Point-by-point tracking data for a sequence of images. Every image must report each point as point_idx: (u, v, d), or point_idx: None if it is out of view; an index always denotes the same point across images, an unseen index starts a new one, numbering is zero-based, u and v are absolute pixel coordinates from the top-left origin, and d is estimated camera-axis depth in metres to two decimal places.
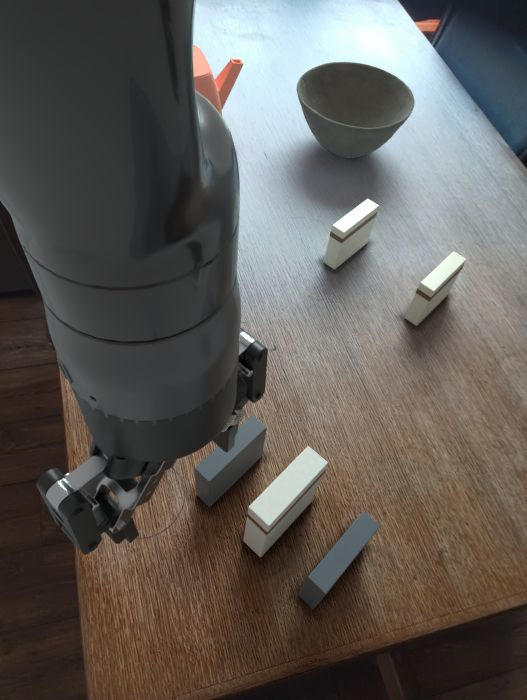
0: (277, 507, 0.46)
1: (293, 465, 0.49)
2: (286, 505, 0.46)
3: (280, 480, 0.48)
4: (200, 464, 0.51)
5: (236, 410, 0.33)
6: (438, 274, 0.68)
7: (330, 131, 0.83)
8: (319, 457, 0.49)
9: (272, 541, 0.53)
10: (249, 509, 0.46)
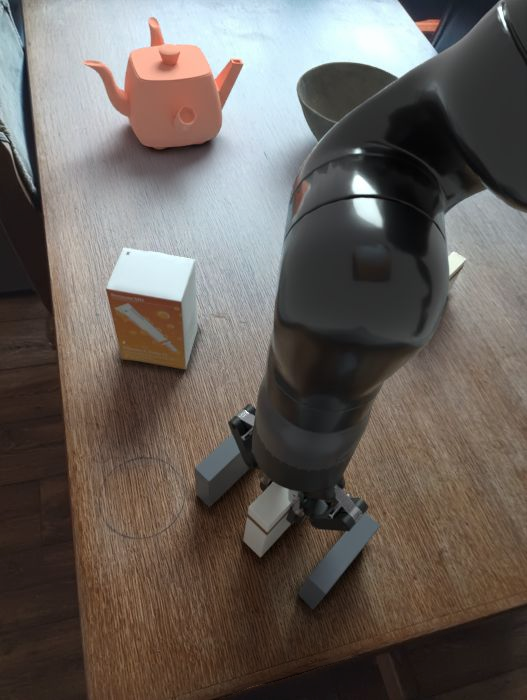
0: (277, 507, 0.46)
1: None
2: (286, 505, 0.46)
3: None
4: (200, 464, 0.51)
5: None
6: None
7: None
8: None
9: (272, 541, 0.53)
10: (249, 509, 0.46)
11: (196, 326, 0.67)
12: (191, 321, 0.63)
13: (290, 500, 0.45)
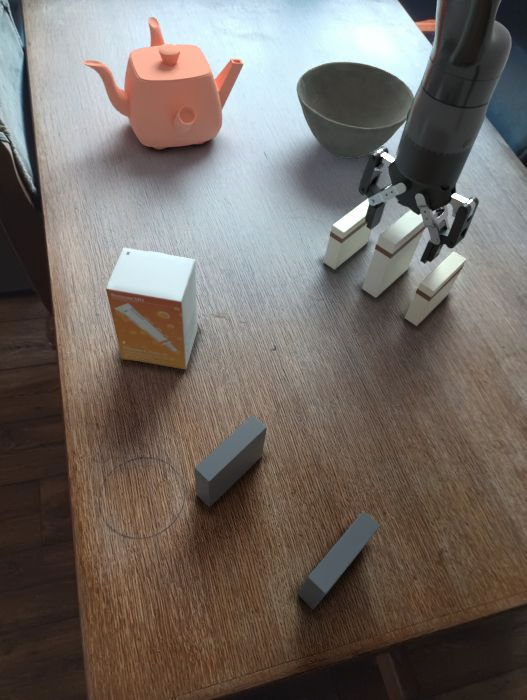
0: (399, 235, 0.67)
1: (406, 215, 0.69)
2: (405, 234, 0.67)
3: (399, 222, 0.69)
4: (200, 464, 0.51)
5: (387, 186, 0.68)
6: (438, 274, 0.68)
7: (330, 131, 0.83)
8: None
9: (385, 283, 0.73)
10: (380, 237, 0.67)
11: (196, 326, 0.67)
12: (191, 321, 0.63)
13: (425, 223, 0.64)
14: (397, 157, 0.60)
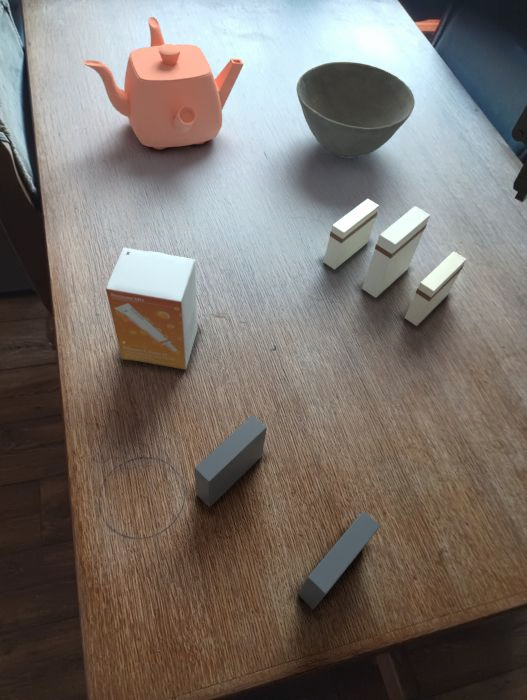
0: (399, 235, 0.67)
1: (406, 215, 0.69)
2: (405, 234, 0.67)
3: (399, 222, 0.69)
4: (200, 464, 0.51)
5: None
6: (438, 274, 0.68)
7: (330, 131, 0.83)
8: (423, 211, 0.70)
9: (385, 283, 0.73)
10: (380, 237, 0.67)
11: (196, 326, 0.67)
12: (191, 321, 0.63)
13: None
14: None
